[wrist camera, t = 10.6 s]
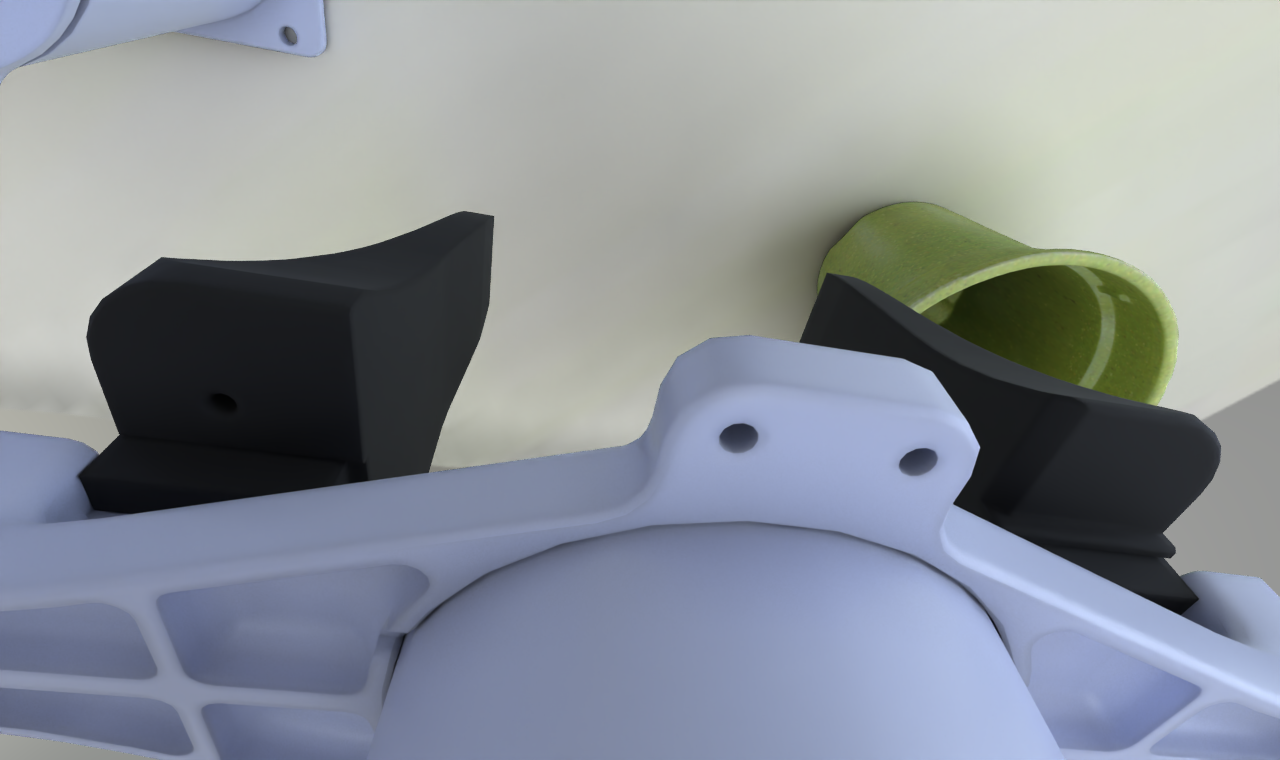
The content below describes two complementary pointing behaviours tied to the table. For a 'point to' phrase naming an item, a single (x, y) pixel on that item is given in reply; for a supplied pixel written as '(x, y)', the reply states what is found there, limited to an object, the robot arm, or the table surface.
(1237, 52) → the table surface
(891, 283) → the plant pot
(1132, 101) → the table surface
